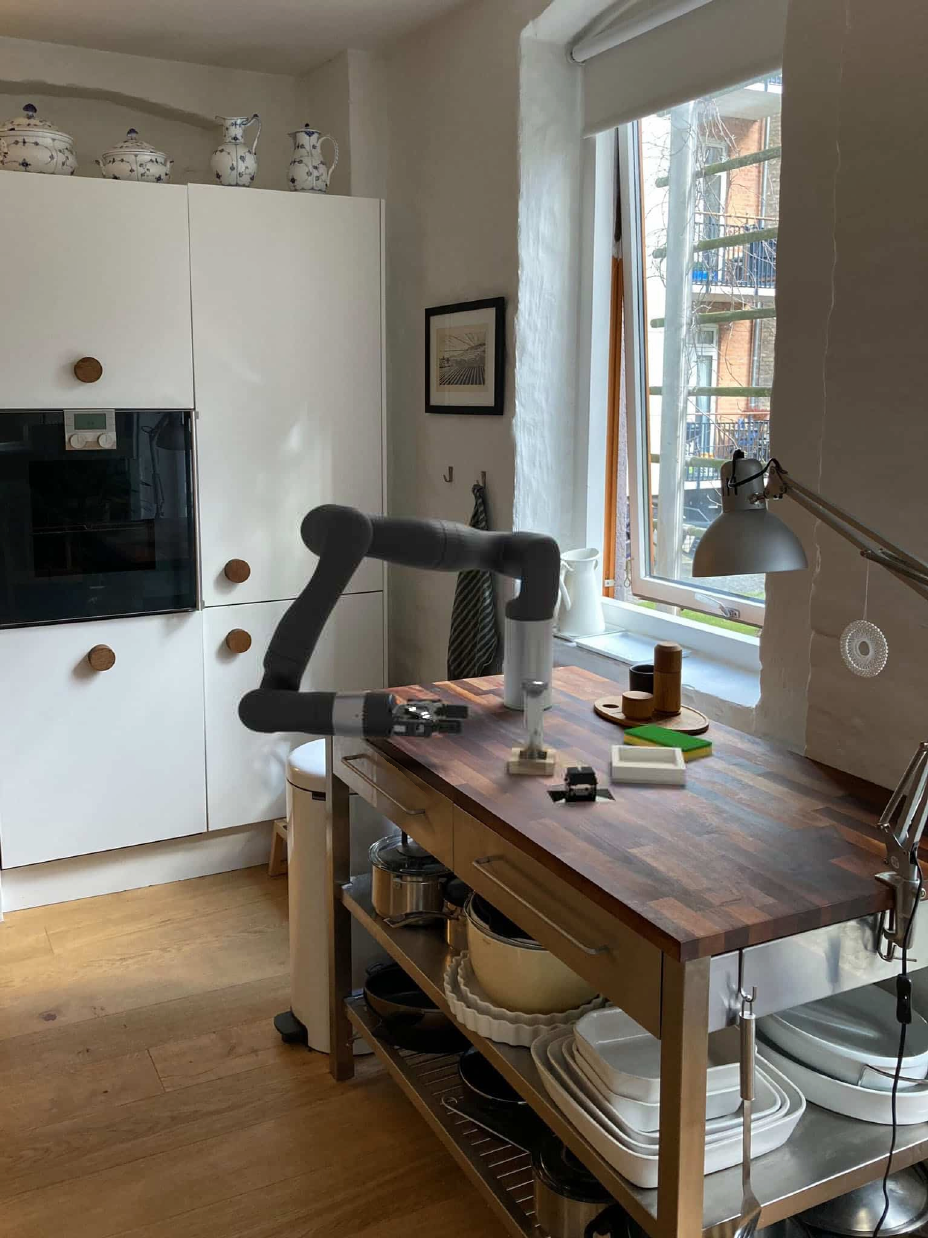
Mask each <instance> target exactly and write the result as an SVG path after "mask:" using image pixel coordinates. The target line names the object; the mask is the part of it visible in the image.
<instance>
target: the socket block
mask: <svg viewBox="0 0 928 1238" xmlns="http://www.w3.org/2000/svg"><path fill="white" fill-rule="evenodd" d="M556 751H557V749H553V748H552V749H551V748H550V749H549V748H543V750H542V760H536V759H523V755H524V747H521V748H520V747H512V748H511V753H510V757H509V761H508V762H509V763H508V765H509V766H508V770H509V771H508V773H509V774H518V775H519V774H520V775H541V776H542V775H543V776H544V775H546V776H554V775H555V770H556V769H555V768H556V756H557V753H556Z"/></svg>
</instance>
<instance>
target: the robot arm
mask: <svg viewBox="0 0 928 1238" xmlns="http://www.w3.org/2000/svg"><path fill="white" fill-rule="evenodd" d="M299 531H300V537H301V540H302V542H303V544H304V545H305V547H306V548H307V549H308V550H309V551H310V552H311V553H312V554H313V555H315V556H317V557H319V559H318V562H317V565H316V568H315V570H314V571H313V574H312V576H311V578H310V580H308V583H307V584H306V586H305V588H304V589H303V590H302V591H301V593H300V594H299V595H298V597H296V599H295V600H294V601H293V602H292V603H291V605H290V606H289V607H288V609H286V611H285V613H284V614H283V615H282V617H281V619H280V620H279V623H278V624H277V626H276V628H275V630H274V632H273V635H272V637H271V639H270V642H269V644H268V646H267V650H266V651H265V654H264V658H263V661H262V666H263V670H264V672H263V676H262V678H261V682H260V684H259V687H258V688H255V689H252V690H250V691H249V692H248V691H247V693H245V694H244V695H243V696H242V698H241V699H240V701H239V703H238V707H237V714H238V718H239V720H240V722H241V723H242V725H243V726H244V727H246V729H248V730H250V731H251V732H255V733H261V734H262V733H263V734H275V733H302V734H307V735H315V736H329V737H330V736H332V737H333V736H334V737H343V738H349V739H368V740H370V739H371V740H387V741H389V740H392V739H393V738H394V737H395V736H396V737H409V738H410V737H411V738H426V739H429V738H432V736H434V735H437V734H454V735H455V734H459V735H460V734H461V733H462V731H463V720H465V719H468V717H469V705H468V704H456V703H455V704H454V703H452V704H451V703H446V702H444V700H443V699H442V698H412V697H411V698H410V697H409V698H406V703H404V704H398V703H397V696H396V695H395V693H393V692H389V691H388V692H387V691H383V692H382V691H359V690H357V691H355V690H353V691H352V690H351V691H339V692H337V691H307V692H306V691H300V690H301V689H300V688H301V683H302V679H303V676H304V674H305V672H306V670H307V667H308V666H309V665H308V664H309V663H310V660H311V658H312V656H313V653H314V650H315V649H316V646H317V644H318V641H319V638H320V637H321V634H322V632H323V630H324V628H325V626H326V623H327V621H328V620H329V618H330V616H331V614H332V612H333V610H334V608H335V607H336V605H337V603H338V602H339V599H340V598H341V596H342V594H343V593H344V591H345V589H346V588H347V586H348V584H349V582H350V580H351V579H352V577H353V576H354V574H355V572H356V571H357V569H358V567H359V566H360V565H361V563H362V561H363V560H364V558H370V559H376V560H380V561H384V562H388V563H391V564H394V565H395V564H396V565H399V566H403V567H408V568H413V569H417V570H422V571H432V572H442V573H459V572H465V571H466V572H467V571H474V570H475V571H476V570H477V571H485V572H488V573H493V574H498V575H501V576H505V577H507V578H509V579H515V580H518V581H520V584H519V585H520V586H519V587H520V588H519V593H518V595H517V596H516V597H515V598H512V599H509V600H508V601H506V603H505V605H504V607H505V608H504V660H503V661H504V662H503V663H504V665H503V666H504V667H503V668H504V669H503V673H504V674H503V705H504V706H505V707H507V708H509V709H511V710H512V709H513V710H519V711H524V699H525V690H522V689H521V688H520V681H521V680H523V679H530V678H536V679H544V680H547V681H548V689H547V690H545V691H544V703H543V710H545V709H548V708H550V707H551V706H552V697H553V695H552V694H553V665H554V664H553V663H554V662H553V660H554V658H553V657H554V656H553V655H554V615H555V614H554V613H555V608H556V605H557V604H558V600H559V591H560V589H559V588H560V582H561V581H560V579H561V578H560V577H561V567H562V566H561V565H562V564H561V562H562V560H561V551H560V547H559V545H558V542H557V540H555V539H554V538H553V537H552V536H550V535H548V534H543V533H539V532H531V531H525V530H524V531H523V530H522V531H521V530H518V531H495V530H494V531H492V530H491V531H487V530H481V529H477V528H476V527H472V526H470V525H467V524H464V523H462V522H460V523H459V522H456V521H453V520H447V519H439V518H433V517H423V516H422V517H421V516H400V515H399V516H393V515H392V516H389V515H387V516H386V515H374V514H369V513H368V514H367V513H365V512H364V511H362V510H361V509H358V508H356V507H352V506H346V505H340V504H335V503H326V504H325V503H324V504H321V505H318V506H316V507H315V508H313V509H311V510H310V511H309V512H307V514H305V516H304V517H303V519H302V522H301V524H300V530H299ZM462 719H463V720H462Z"/></svg>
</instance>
